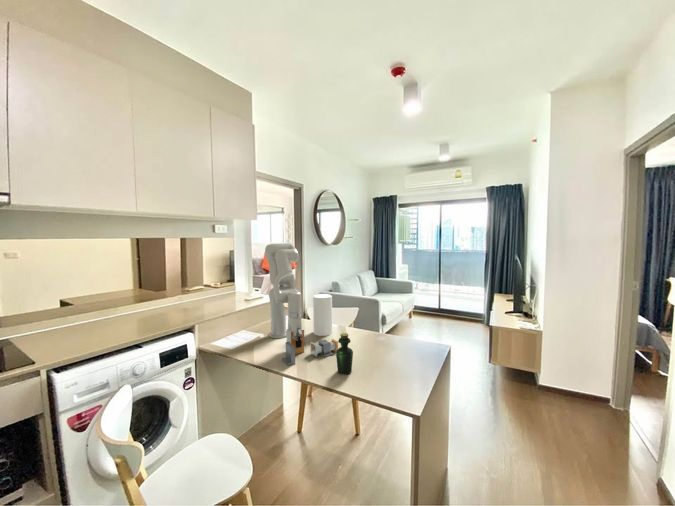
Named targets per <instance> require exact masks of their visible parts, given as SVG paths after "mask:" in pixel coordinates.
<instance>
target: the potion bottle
mask: <svg viewBox="0 0 675 506" xmlns="http://www.w3.org/2000/svg"><path fill="white" fill-rule="evenodd" d="M337 342H338V344H340V345H341V347H338V349H337V351H335V354H336V355H335V357H336V365H337V372H338V373H339V374H340V375H345V376H346V375H350V373H352V371H353V370H352V368H353V359H354V358H353V357H354V351H353V349H352V348H351V347H348V346H349V344H350V343H351V338H349V333H347V332H342V333H340V338H338V341H337Z"/></svg>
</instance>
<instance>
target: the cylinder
mask: <svg viewBox="0 0 675 506" xmlns="http://www.w3.org/2000/svg"><path fill="white" fill-rule="evenodd" d="M312 299H313V300H312V301H313V302H312V305H313V306H312V307H313V308H312V309H313V312H312V315H313V318H312V319H313V334H314V335H315V336H319V337H326V336H330V335H332V334H333V296H332V295H331V294H330V293H329V294H328V293H319V294H314V295H313V296H312Z"/></svg>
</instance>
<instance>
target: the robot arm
mask: <svg viewBox="0 0 675 506" xmlns="http://www.w3.org/2000/svg"><path fill="white" fill-rule="evenodd" d="M264 254H265V258H266V260H267V264H268V271H269V281H270V284H271V285H272V287H273V288H270V290H269V291H268V297H269V298H268V299H269V305H270V330H271V331H270V332H269V333H268V337H269V338H271V339H282V338H283V339H284V338H287V329H290V330H291V331H292V332H293V336H294V337H295V336H296V348H299V347H302V329H303V325H302V324H303V323H302V313H303V312H302V311H303V307H302V305H303V304H302V292H300V291H299V290H298V289H296V277H295V274H294V271H293V268H292V264H291V263H297V262H299V259H300V255H299V252H298V250H297V248H296V247H295V246H294V245H293V244H292V243H270V244H267V245H266V246H265V248H264ZM282 285H287V286H282ZM284 304H287V313H286V307H285V305H284ZM286 316H287V317H286ZM286 321H287V322H286ZM286 326H287V327H286ZM297 334H298V335H297ZM297 336H299V337H297Z"/></svg>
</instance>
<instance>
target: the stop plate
mask: <svg viewBox="0 0 675 506" xmlns="http://www.w3.org/2000/svg"><path fill="white" fill-rule="evenodd" d="M281 360H282V362H284V363H285V365H286V366H288V367H289V366H292V365H295V364H296V354H295V346H294V345H292V344H291V343H290V342H287V341H286V342H285V357H282V358H281Z"/></svg>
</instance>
